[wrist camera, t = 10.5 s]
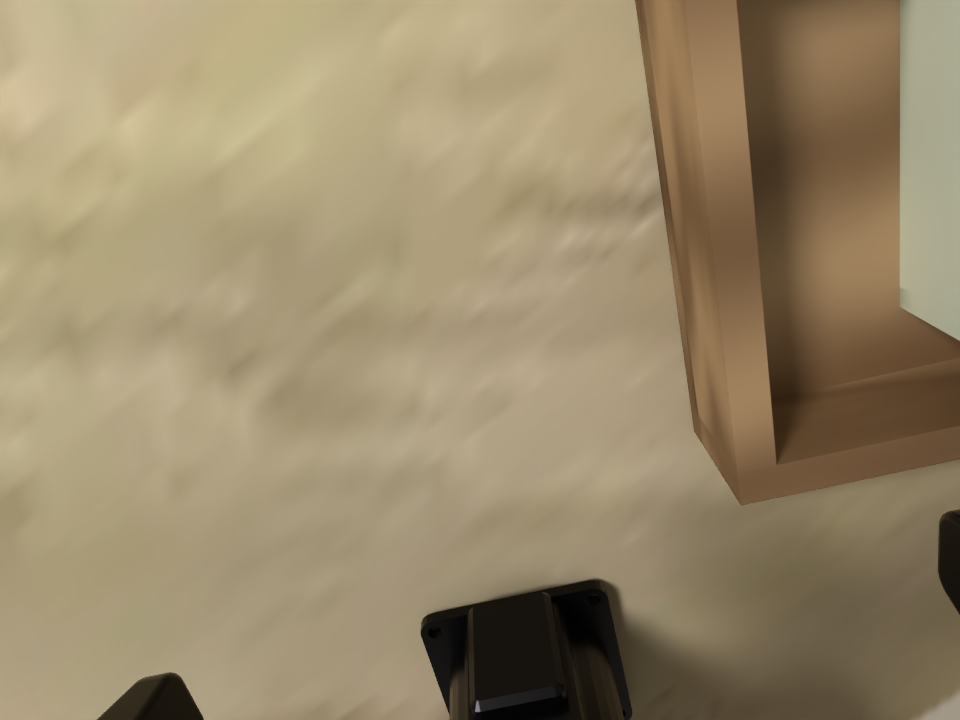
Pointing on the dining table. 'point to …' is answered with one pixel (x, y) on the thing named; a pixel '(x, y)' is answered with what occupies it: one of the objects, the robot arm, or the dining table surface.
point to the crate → (793, 242)
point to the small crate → (930, 162)
